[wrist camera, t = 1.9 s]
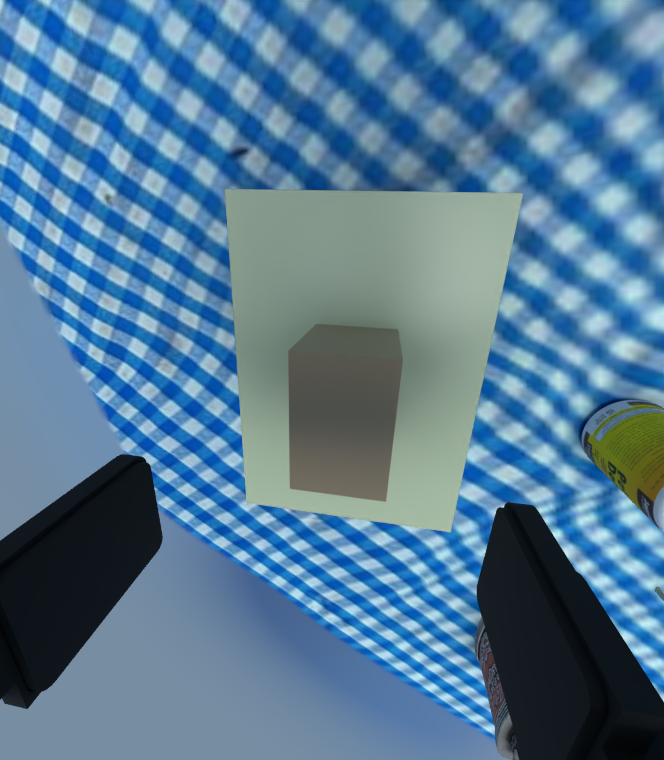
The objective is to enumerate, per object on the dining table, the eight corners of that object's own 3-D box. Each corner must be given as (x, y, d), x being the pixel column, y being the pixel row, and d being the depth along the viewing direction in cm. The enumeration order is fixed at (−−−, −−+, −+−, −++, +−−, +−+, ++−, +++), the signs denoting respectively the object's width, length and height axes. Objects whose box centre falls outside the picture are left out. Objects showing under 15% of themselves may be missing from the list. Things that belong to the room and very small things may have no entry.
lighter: (503, 660, 34) (547, 813, 24) (469, 653, 34) (499, 801, 25) (523, 606, 31) (581, 756, 22) (485, 600, 31) (527, 744, 22)
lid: (246, 198, 17) (150, 158, 10) (502, 202, 15) (597, 158, 8) (260, 478, 23) (207, 572, 16) (443, 502, 22) (470, 618, 15)
